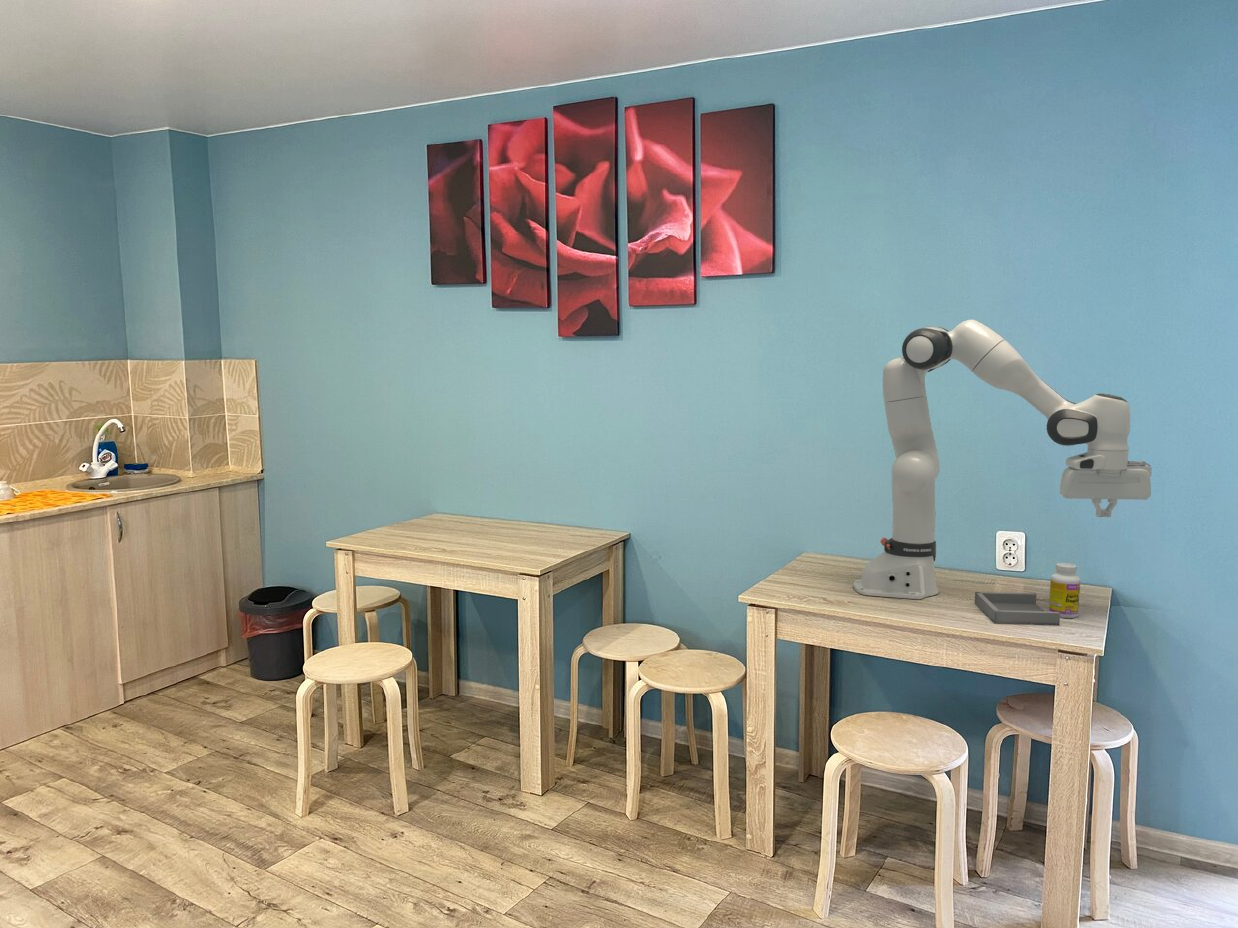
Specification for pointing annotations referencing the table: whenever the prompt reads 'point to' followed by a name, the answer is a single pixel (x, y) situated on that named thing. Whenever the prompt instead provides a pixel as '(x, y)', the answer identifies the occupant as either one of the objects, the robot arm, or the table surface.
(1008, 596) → the tray
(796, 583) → the table surface
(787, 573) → the table surface
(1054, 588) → the supplement bottle
